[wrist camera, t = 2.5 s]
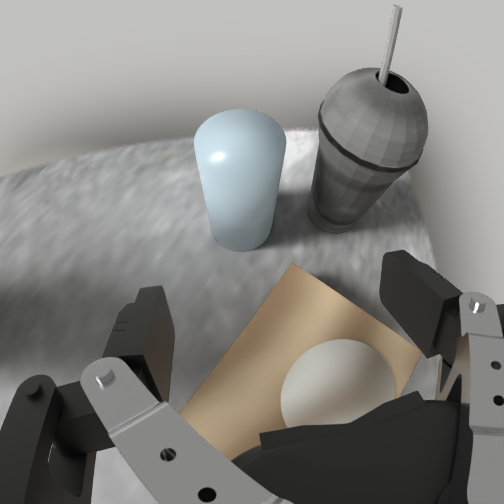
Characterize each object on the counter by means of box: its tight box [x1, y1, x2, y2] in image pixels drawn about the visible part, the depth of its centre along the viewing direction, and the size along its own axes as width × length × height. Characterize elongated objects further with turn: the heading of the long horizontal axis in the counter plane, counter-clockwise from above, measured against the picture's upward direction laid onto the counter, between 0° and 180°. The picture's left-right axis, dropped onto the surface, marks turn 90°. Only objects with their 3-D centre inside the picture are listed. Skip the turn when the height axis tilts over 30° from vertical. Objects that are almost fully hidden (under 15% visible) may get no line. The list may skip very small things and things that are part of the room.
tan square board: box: [179, 262, 422, 461], centre depth 20 cm, size 12×14×4 cm
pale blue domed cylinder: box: [194, 109, 286, 252], centre depth 23 cm, size 5×5×11 cm
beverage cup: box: [308, 5, 428, 234], centre depth 19 cm, size 7×7×20 cm
